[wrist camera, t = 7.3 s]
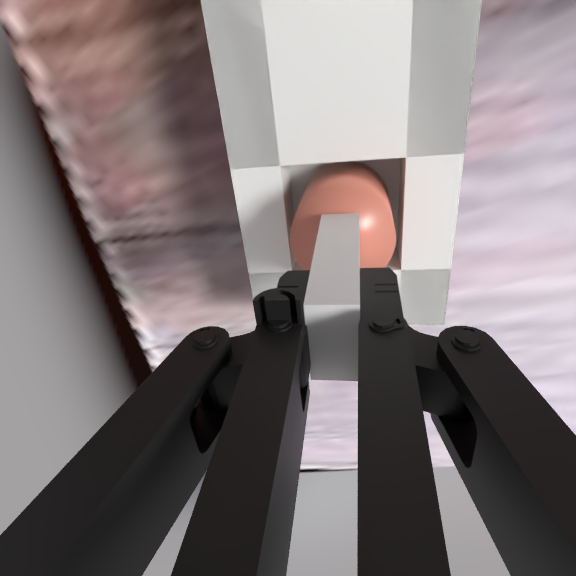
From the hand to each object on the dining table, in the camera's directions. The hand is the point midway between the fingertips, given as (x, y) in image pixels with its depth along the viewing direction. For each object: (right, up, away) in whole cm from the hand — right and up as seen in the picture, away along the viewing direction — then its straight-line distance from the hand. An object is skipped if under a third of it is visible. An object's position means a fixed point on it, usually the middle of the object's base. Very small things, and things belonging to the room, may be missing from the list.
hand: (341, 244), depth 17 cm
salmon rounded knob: (+1, +2, +4) cm, 5 cm away
